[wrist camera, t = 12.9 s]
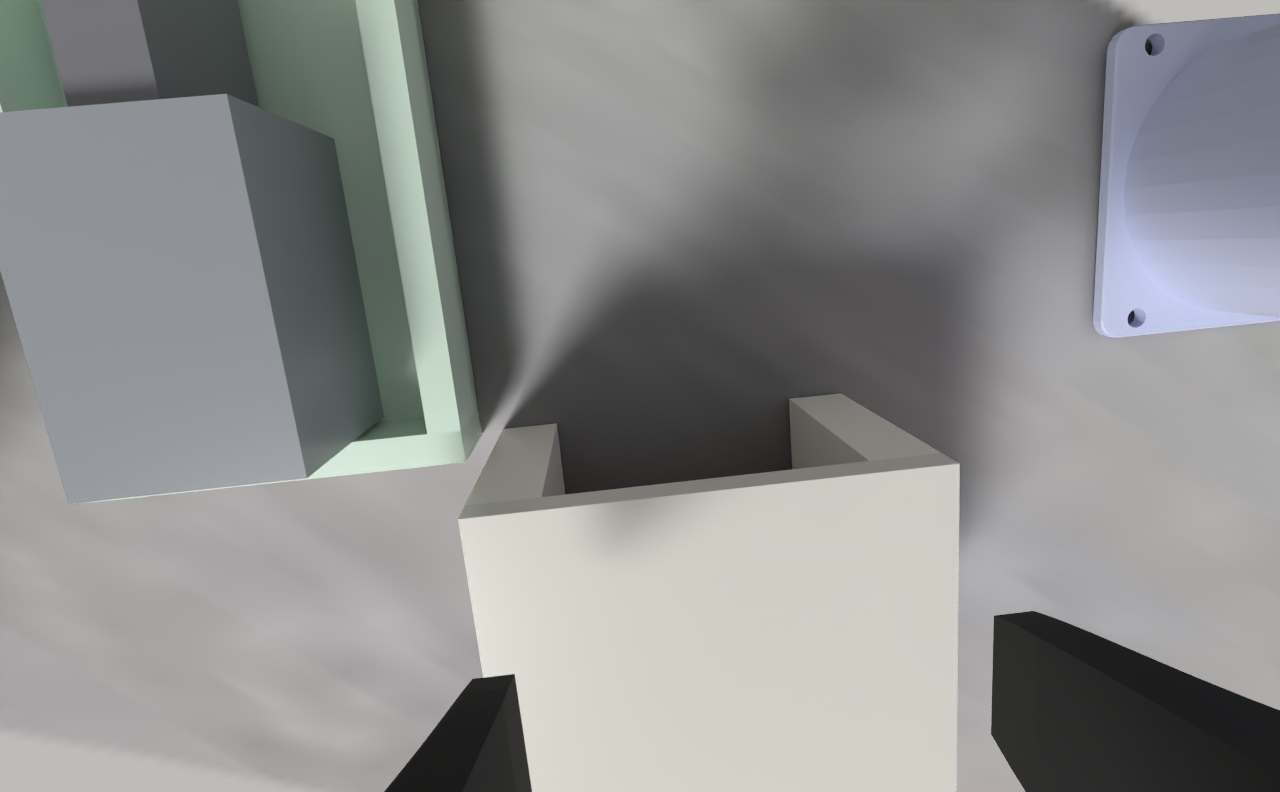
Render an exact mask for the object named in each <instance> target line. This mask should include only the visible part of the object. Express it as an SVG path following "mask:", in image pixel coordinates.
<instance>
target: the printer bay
mask: <svg viewBox="0 0 1280 792" xmlns="http://www.w3.org/2000/svg"><path fill="white" fill-rule="evenodd" d="M789 410H790V432H791V454H792V470H782V471H773V472H764V473H755V474H746V475H737V476H728V477H719V478H710V479H701V480H692V481H683V482H674V483H665V484H656V485H647V486H638V487H629V488H620V489H610V490H601V491H592V492H583V493H574V494H565V486H564V477H563V469H562V461H561V453H560V445H559V437H558V429H557V423H555V424H546V425H537V426H527V427H518V428H508V429H503V430H502V432H501V434H500V436H499V438H498V440H497V442H496V444H495V446H494V448H493V450H492V452H491V454H490V456H489V458H488V460H487V462H486V464H485V466H484V468H483V470H482V472H481V474H480V476H479V478H478V480H477V482H476V484H475V486H474V488H473V490H472V492H471V494H470V496H469V498H468V500H467V502H466V504H465V506H464V508H463V510H462V512H461V514H460V516H459V518H458V523H459V529H460V535H461V541H462V548H463V554H464V560H465V566H466V572H467V579H468V585H469V591H470V597H471V604H472V610H473V616H474V622H475V629H476V635H477V641H478V647H479V653H480V660H481V666H482V672H483V678H485V677H494V676H502V675H510V674H515V680H516V687H517V694H518V700H519V707H520V714H521V721H522V727H523V734H524V741H525V748H526V754H527V761H528V768H529V775H530V781H531V788H532V792H956V782H957V685H958V588H959V490H960V463H958V462H956V461H955V460H953V459H951V458H949V457H948V456H946V455H944V454H943V453H941V452H939V451H938V450H936V449H934V448H933V447H931V446H929V445H927V444H926V443H924V442H922V441H921V440H919V439H917V438H916V437H914V436H912V435H911V434H909V433H907V432H905V431H904V430H902V429H900V428H899V427H897V426H895V425H894V424H892V423H890V422H888V421H887V420H885V419H883V418H882V417H880V416H878V415H877V414H875V413H873V412H872V411H870V410H868V409H866V408H865V407H863V406H861V405H860V404H858V403H856V402H855V401H853V400H851V399H850V398H848V397H846V396H844V395H843V394H841V393H839V394H830V395H820V396H811V397H801V398H792V399H789Z"/></svg>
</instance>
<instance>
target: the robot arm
mask: <svg viewBox="0 0 1280 792" xmlns="http://www.w3.org/2000/svg"><path fill="white" fill-rule="evenodd" d="M1147 39H1149V41H1150V42H1151V43H1152V52H1151V54H1150V55H1149V54H1148V53H1147V52H1146V50H1145V43H1146V40H1147ZM1132 310H1133V311H1134V313H1135V317H1134V320H1133V322H1132V323H1131V324H1130V325H1129V324H1128V320H1127V319H1128V316H1129V313H1130V312H1131V311H1132ZM1271 321H1280V14H1269V15H1257V16H1245V17H1234V18H1221V19H1210V20H1198V21H1185V22H1173V23H1161V24H1149V25H1137V26H1133V27H1129V28H1127V29H1124V30H1122V31H1120V32H1118V33H1117V34H1116V35H1115V36H1113V38H1112V39H1111V41H1110V43H1109V45H1108V50H1107V63H1106V82H1105V101H1104V120H1103V139H1102V158H1101V177H1100V196H1099V216H1098V235H1097V254H1096V273H1095V292H1094V311H1093V324H1094V328H1095V329H1096V331H1097V332H1098V333H1099V334H1101V335H1103V336H1108V337H1127V336H1136V335H1146V334H1156V333H1165V332H1175V331H1185V330H1194V329H1204V328H1213V327H1223V326H1233V325H1242V324H1252V323H1261V322H1271ZM991 734H992V736H993V738H994V740H995V741H996V743H997V745H998V746H999V748H1000V750H1001V752H1002V753H1003V755H1004V757H1005V758H1006V760H1007V762H1008V764H1009V765H1010V767H1011V769H1012V770H1013V772H1014V774H1015V775H1016V777H1017V778H1018V780H1019V782H1020V783H1021V785H1022V786H1023V788H1024V789H1025V791H1026V792H1280V710H1277V709H1274V708H1272V707H1269V706H1266V705H1264V704H1261V703H1259V702H1256V701H1253V700H1251V699H1248V698H1246V697H1243V696H1241V695H1238V694H1236V693H1233V692H1231V691H1228V690H1226V689H1223V688H1221V687H1218V686H1216V685H1213V684H1211V683H1208V682H1206V681H1204V680H1201V679H1199V678H1196V677H1194V676H1192V675H1189V674H1187V673H1184V672H1182V671H1180V670H1177V669H1175V668H1173V667H1170V666H1168V665H1165V664H1163V663H1161V662H1158V661H1156V660H1154V659H1151V658H1149V657H1147V656H1144V655H1142V654H1140V653H1137V652H1135V651H1133V650H1130V649H1128V648H1126V647H1123V646H1121V645H1119V644H1116V643H1114V642H1112V641H1109V640H1107V639H1105V638H1102V637H1100V636H1097V635H1095V634H1093V633H1090V632H1088V631H1085V630H1083V629H1081V628H1078V627H1076V626H1073V625H1071V624H1068V623H1066V622H1063V621H1061V620H1058V619H1055V618H1052V617H1050V616H1047V615H1044V614H1041V613H1038V612H1035V611H1030V612H1022V613H1014V614H1006V615H997V616H994V641H993V683H992V726H991ZM384 792H532V788H531V781H530V775H529V768H528V761H527V754H526V748H525V741H524V734H523V727H522V721H521V714H520V707H519V700H518V694H517V687H516V680H515V674H510V675H502V676H494V677H485V678H477V679H472V681H471V682H470V683H469V684H468V685H467V687H466V688H465V689H464V690H463V692H462V693H461V694H460V695H459V697H458V698H457V699H456V701H455V702H454V703H453V705H452V706H451V707H450V709H449V710H448V711H447V713H446V714H445V715H444V717H443V718H442V719H441V721H440V722H439V723H438V725H437V726H436V727H435V729H434V730H433V731H432V733H431V734H430V735H429V736H428V738H427V739H426V740H425V742H424V743H423V744H422V746H421V747H420V748H419V749H418V751H417V752H416V753H415V754H414V756H413V757H412V758H411V759H410V761H409V762H408V763H407V764H406V766H405V767H404V768H403V769H402V771H401V772H400V773H399V774H398V776H397V777H396V778H395V779H394V780H393V782H392V783H391V784H390V785H389V787H388V788H387V789H386V790H385V791H384Z"/></svg>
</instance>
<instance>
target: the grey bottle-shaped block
mask: <svg viewBox="0 0 1280 792" xmlns="http://www.w3.org/2000/svg"><path fill="white" fill-rule="evenodd" d="M40 1H41V5H42V8H43V12H44V16H45V20H46V24H47V28H48V32H49V36H50V40H51V43H52V47H53V51H54V55H55V59H56V63H57V67H58V71H59V75H60V78H61V82H62V86H63V90H64V94H65V98H66V102H67V106H68V107H59V108H47V109H35V110H23V111H11V112H0V272H1V275H2V278H3V282H4V285H5V289H6V292H7V296H8V299H9V303H10V306H11V309H12V313H13V316H14V320H15V323H16V327H17V330H18V333H19V337H20V340H21V344H22V347H23V351H24V354H25V357H26V361H27V364H28V368H29V371H30V375H31V378H32V381H33V385H34V388H35V392H36V395H37V399H38V402H39V405H40V409H41V412H42V416H43V419H44V423H45V426H46V429H47V433H48V436H49V440H50V443H51V447H52V450H53V453H54V457H55V460H56V464H57V467H58V471H59V474H60V477H61V481H62V484H63V488H64V491H65V495H66V498H67V501H68V504H73V503H83V502H92V501H101V500H110V499H120V498H129V497H138V496H148V495H157V494H166V493H175V492H185V491H194V490H203V489H213V488H222V487H231V486H241V485H250V484H259V483H268V482H278V481H287V480H296V479H306V478H308V477H309V476H311V475H312V474H313V473H314V472H316V471H317V470H318V469H319V468H320V467H322V466H323V465H324V464H325V463H327V462H328V461H329V460H330V459H332V458H333V457H334V456H335V455H337V454H338V453H339V452H340V451H342V450H343V449H344V448H345V447H347V446H348V445H349V444H350V443H352V442H353V441H354V440H355V439H357V438H358V437H359V436H360V435H361V434H363V433H364V432H365V431H366V430H368V429H369V428H370V427H371V426H373V425H374V424H375V423H376V422H378V421H379V420H380V419H381V418H383V417H384V414H383V408H382V403H381V397H380V392H379V386H378V380H377V375H376V369H375V364H374V358H373V352H372V347H371V341H370V336H369V330H368V325H367V319H366V313H365V308H364V302H363V297H362V291H361V286H360V280H359V274H358V269H357V263H356V258H355V252H354V247H353V241H352V235H351V230H350V224H349V219H348V213H347V207H346V202H345V196H344V191H343V185H342V180H341V174H340V168H339V163H338V157H337V152H336V146H335V141H334V138H331V137H329V136H326V135H324V134H322V133H319V132H317V131H314V130H312V129H310V128H307V127H305V126H303V125H300V124H298V123H295V122H293V121H291V120H288V119H286V118H283V117H281V116H279V115H276V114H274V113H272V112H269V111H267V110H264V109H262V108H260V107H259V105H258V100H257V95H256V90H255V85H254V80H253V75H252V70H251V65H250V60H249V55H248V50H247V45H246V40H245V35H244V30H243V25H242V20H241V15H240V10H239V5H238V0H40Z"/></svg>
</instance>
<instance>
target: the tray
mask: <svg viewBox="0 0 1280 792" xmlns="http://www.w3.org/2000/svg"><path fill="white" fill-rule="evenodd" d="M238 5H239V10H240V15H241V20H242V25H243V30H244V35H245V40H246V45H247V50H248V55H249V60H250V65H251V70H252V75H253V80H254V85H255V90H256V95H257V100H258V105H259V107H260V108H262V109H264V110H267V111H269V112H272V113H274V114H276V115H279V116H281V117H283V118H286V119H288V120H291V121H293V122H295V123H298V124H300V125H303V126H305V127H307V128H310V129H312V130H314V131H317V132H319V133H322V134H324V135H326V136H329V137H331V138H334V141H335V146H336V152H337V157H338V163H339V168H340V174H341V180H342V185H343V191H344V196H345V202H346V207H347V213H348V219H349V224H350V230H351V235H352V241H353V247H354V252H355V258H356V263H357V269H358V274H359V280H360V286H361V291H362V297H363V302H364V308H365V313H366V319H367V325H368V330H369V336H370V341H371V347H372V352H373V358H374V364H375V369H376V375H377V380H378V386H379V392H380V397H381V403H382V408H383V414H384V417H383V418H381V419H380V420H379V421H378V422H376V423H375V424H374V425H373V426H371V427H370V428H369V429H368V430H366V431H365V432H364V433H363V434H361V435H360V436H359V437H358V438H357V439H355V440H354V441H353V442H352V443H350V444H349V445H348V446H347V447H345V448H344V449H343V450H342V451H340V452H339V453H338V454H337V455H335V456H334V457H333V458H332V459H330V460H329V461H328V462H327V463H325V464H324V465H323V466H322V467H320V468H319V469H318V470H317V471H316V472H314V473H313V474H312V475H311V476H309V477H308V478H306V479H314V478H324V477H333V476H342V475H352V474H361V473H370V472H379V471H389V470H398V469H407V468H417V467H426V466H435V465H444V464H454V463H463V462H466V461H467V459H468V457H469V456H470V454H471V452H472V451H473V449H474V447H475V446H476V444H477V442H478V441H479V439H480V437H481V436H482V431H481V425H480V418H479V411H478V404H477V397H476V391H475V384H474V377H473V370H472V364H471V357H470V350H469V343H468V337H467V330H466V323H465V316H464V310H463V303H462V296H461V289H460V283H459V276H458V269H457V262H456V256H455V249H454V242H453V235H452V229H451V222H450V215H449V208H448V201H447V195H446V188H445V181H444V174H443V168H442V161H441V154H440V147H439V141H438V134H437V127H436V120H435V114H434V107H433V100H432V93H431V87H430V80H429V73H428V66H427V60H426V53H425V46H424V39H423V33H422V26H421V19H420V12H419V5H418V0H238ZM59 107H68V106H67V102H66V98H65V94H64V90H63V86H62V82H61V78H60V75H59V71H58V67H57V63H56V59H55V55H54V51H53V47H52V43H51V40H50V36H49V32H48V28H47V24H46V20H45V16H44V12H43V8H42V5H41V1H40V0H0V112H11V111H23V110H35V109H47V108H59ZM296 480H305V479H296ZM296 480H287V481H296ZM287 481H278V482H287ZM268 483H277V482H268ZM268 483H259V484H268ZM259 484H250V485H259ZM241 486H249V485H241ZM231 487H240V486H231ZM231 487H222V488H231ZM213 489H221V488H213ZM203 490H212V489H203ZM203 490H194V491H203ZM194 491H185V492H194ZM175 493H184V492H175ZM175 493H166V494H175ZM166 494H157V495H166ZM148 496H156V495H148ZM138 497H147V496H138ZM138 497H129V498H138ZM129 498H120V499H129ZM110 500H119V499H110ZM110 500H101V501H110ZM101 501H92V502H101ZM83 503H91V502H83ZM75 504H82V503H75Z"/></svg>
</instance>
